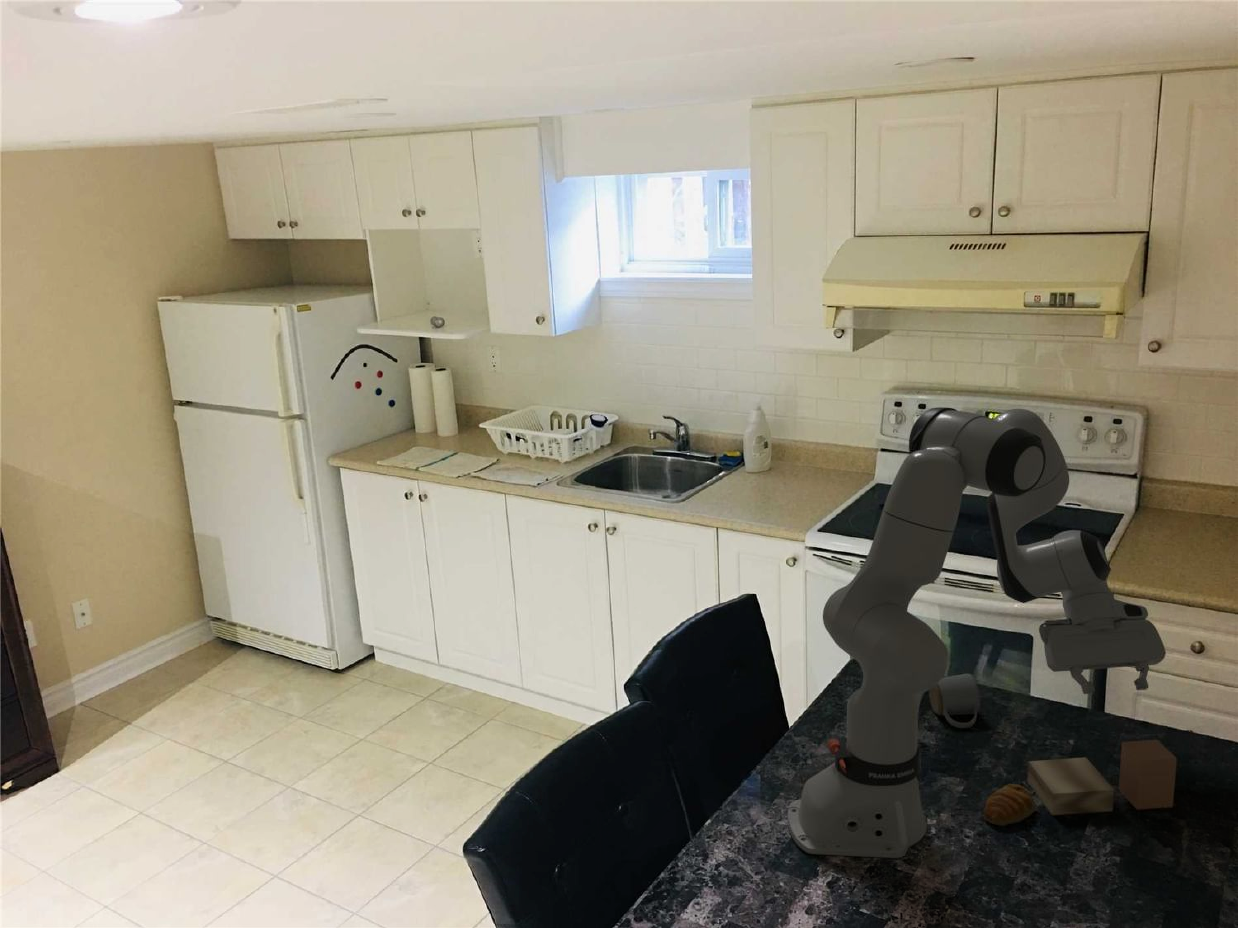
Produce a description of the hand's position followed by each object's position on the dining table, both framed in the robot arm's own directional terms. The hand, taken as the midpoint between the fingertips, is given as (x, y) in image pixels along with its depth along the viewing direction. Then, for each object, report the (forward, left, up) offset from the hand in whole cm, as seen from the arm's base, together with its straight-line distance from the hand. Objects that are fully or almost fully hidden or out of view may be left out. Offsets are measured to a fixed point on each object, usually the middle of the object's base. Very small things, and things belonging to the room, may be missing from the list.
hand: (1116, 691), depth 182 cm
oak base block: (-12, -10, -14) cm, 21 cm away
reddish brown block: (0, -12, -14) cm, 18 cm away
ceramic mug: (-21, +20, -14) cm, 32 cm away
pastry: (-24, -13, -14) cm, 30 cm away
